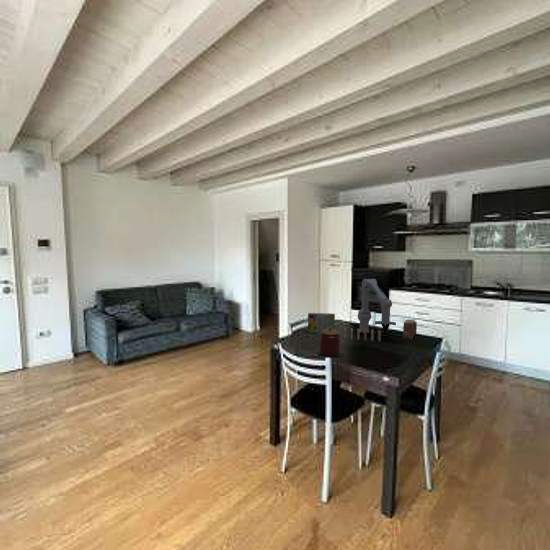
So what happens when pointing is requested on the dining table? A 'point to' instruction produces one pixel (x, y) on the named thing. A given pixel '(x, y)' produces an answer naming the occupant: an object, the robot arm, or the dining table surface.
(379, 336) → the domino
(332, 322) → the snack box
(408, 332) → the stack of blocks
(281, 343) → the dining table surface
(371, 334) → the domino
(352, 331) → the domino
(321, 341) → the canister
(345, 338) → the domino
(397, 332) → the dining table surface
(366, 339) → the terracotta domino
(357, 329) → the domino
